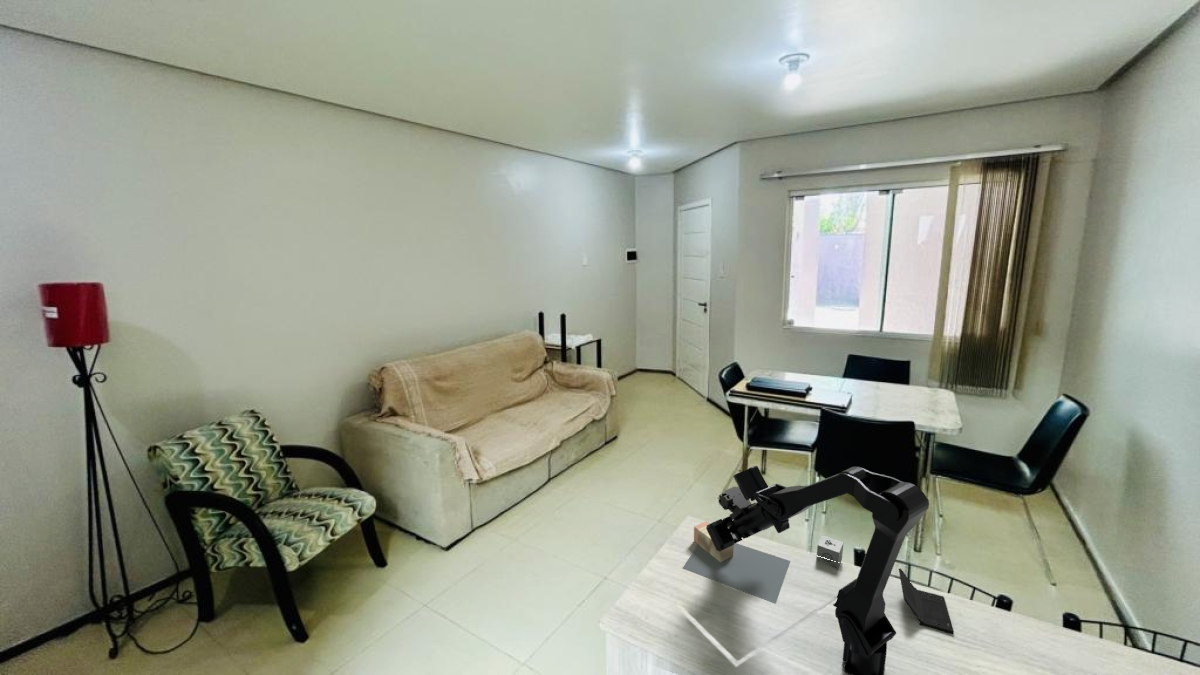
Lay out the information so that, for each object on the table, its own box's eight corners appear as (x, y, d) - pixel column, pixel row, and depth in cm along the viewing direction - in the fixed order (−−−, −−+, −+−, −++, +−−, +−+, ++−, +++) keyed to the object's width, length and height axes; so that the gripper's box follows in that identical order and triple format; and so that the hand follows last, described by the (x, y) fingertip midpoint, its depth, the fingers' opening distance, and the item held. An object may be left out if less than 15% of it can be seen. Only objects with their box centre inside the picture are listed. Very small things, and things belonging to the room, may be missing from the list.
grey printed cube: (821, 552, 123) (822, 535, 122) (841, 559, 120) (843, 542, 119) (816, 562, 119) (817, 545, 118) (837, 570, 116) (839, 552, 115)
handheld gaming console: (966, 630, 96) (934, 587, 97) (932, 644, 98) (901, 602, 99) (944, 597, 107) (915, 559, 108) (914, 610, 109) (886, 572, 110)
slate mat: (790, 563, 119) (790, 560, 118) (775, 606, 105) (775, 603, 105) (705, 535, 131) (705, 533, 130) (682, 570, 117) (682, 568, 117)
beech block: (733, 540, 120) (706, 521, 128) (721, 546, 118) (694, 526, 126) (733, 555, 121) (706, 535, 129) (720, 562, 119) (693, 541, 127)
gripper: (767, 473, 116) (733, 493, 128) (712, 495, 107) (680, 514, 119) (793, 516, 111) (754, 533, 123) (737, 543, 102) (701, 559, 114)
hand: (723, 534), depth 120 cm, fingers closed
